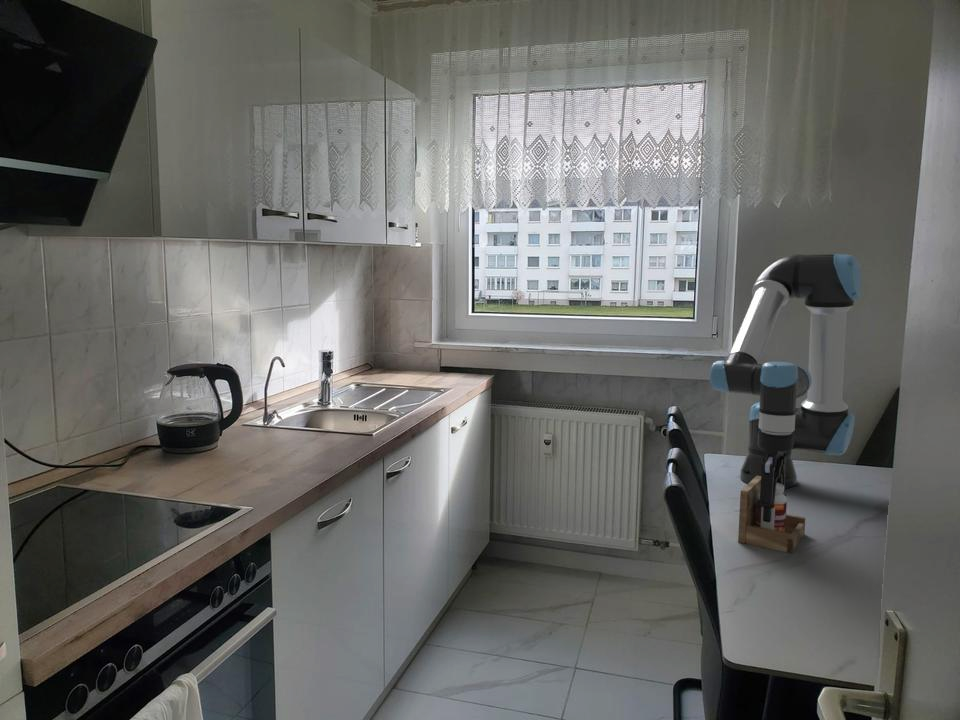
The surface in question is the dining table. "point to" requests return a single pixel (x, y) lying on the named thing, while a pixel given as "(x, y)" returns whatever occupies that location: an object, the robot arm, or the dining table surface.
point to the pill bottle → (776, 509)
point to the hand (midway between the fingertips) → (770, 529)
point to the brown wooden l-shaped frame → (763, 535)
